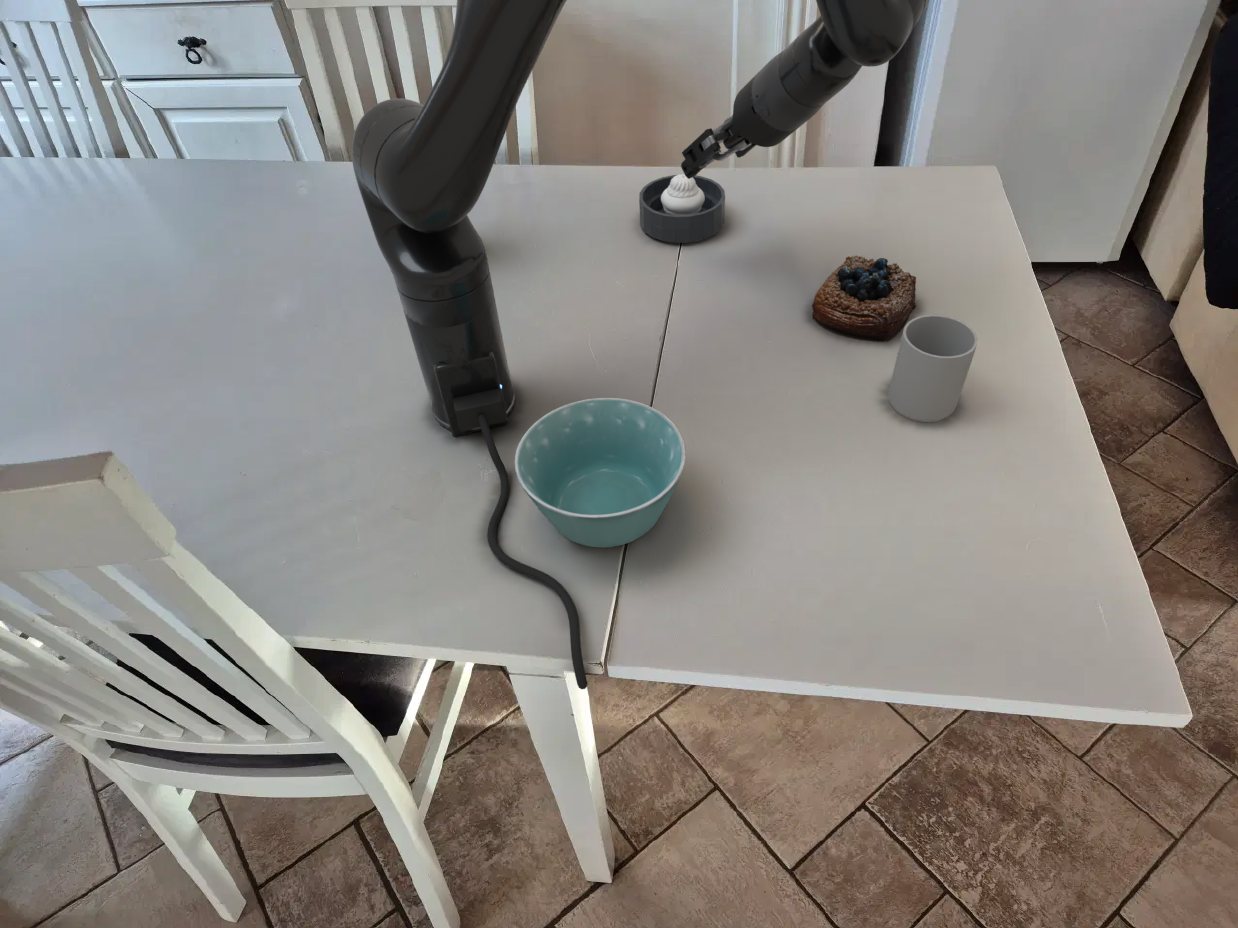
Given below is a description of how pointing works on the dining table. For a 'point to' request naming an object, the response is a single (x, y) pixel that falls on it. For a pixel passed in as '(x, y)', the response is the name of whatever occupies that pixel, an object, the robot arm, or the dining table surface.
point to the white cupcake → (682, 196)
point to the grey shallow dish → (681, 225)
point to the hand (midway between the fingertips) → (711, 160)
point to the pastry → (865, 300)
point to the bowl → (601, 468)
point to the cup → (931, 367)
